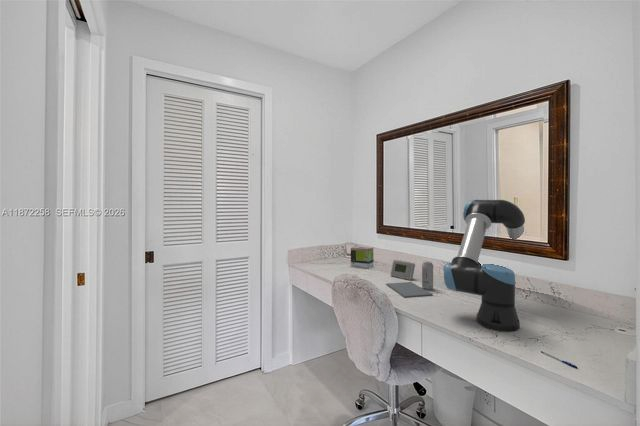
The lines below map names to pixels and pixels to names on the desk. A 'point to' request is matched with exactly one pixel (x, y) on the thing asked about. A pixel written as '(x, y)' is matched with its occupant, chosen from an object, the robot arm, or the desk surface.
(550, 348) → the desk surface
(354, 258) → the tea box
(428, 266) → the energy drink can
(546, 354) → the screwdriver
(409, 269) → the digital clock
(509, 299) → the robot arm
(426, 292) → the rubber mat
